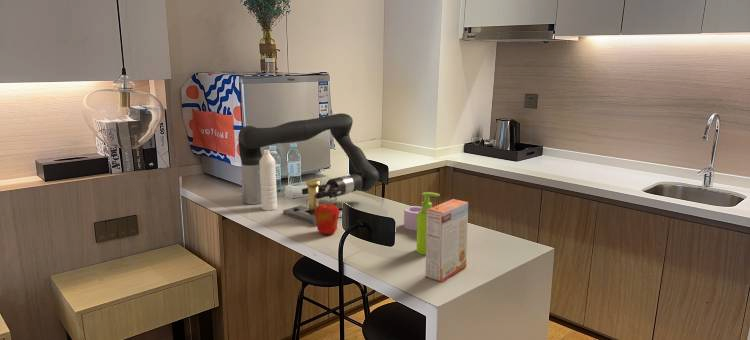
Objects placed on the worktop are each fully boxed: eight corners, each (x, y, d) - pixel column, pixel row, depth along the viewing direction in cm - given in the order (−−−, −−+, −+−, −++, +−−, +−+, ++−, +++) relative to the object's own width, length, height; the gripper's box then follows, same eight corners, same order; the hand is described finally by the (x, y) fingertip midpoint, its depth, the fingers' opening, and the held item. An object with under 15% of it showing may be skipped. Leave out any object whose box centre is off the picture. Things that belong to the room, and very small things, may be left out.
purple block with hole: (397, 229, 187) (397, 211, 186) (415, 220, 197) (416, 203, 195) (445, 241, 176) (446, 222, 174) (461, 231, 185) (462, 213, 184)
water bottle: (258, 208, 212) (255, 150, 206) (270, 205, 216) (267, 147, 211) (272, 212, 206) (269, 152, 201) (284, 208, 211) (281, 150, 206)
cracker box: (450, 262, 157) (452, 197, 153) (466, 267, 153) (469, 201, 149) (423, 276, 147) (425, 208, 142) (441, 283, 143) (443, 212, 138)
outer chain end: (297, 218, 199) (296, 209, 198) (314, 213, 205) (314, 204, 204) (318, 226, 190) (318, 217, 189) (336, 220, 197) (336, 211, 196)
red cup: (310, 234, 181) (310, 203, 179) (323, 227, 189) (323, 197, 186) (331, 238, 177) (330, 206, 175) (343, 231, 185) (343, 200, 182)
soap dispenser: (436, 255, 163) (438, 195, 158) (415, 253, 164) (416, 194, 159) (438, 248, 168) (440, 191, 164) (417, 247, 169) (418, 189, 165)
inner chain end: (283, 213, 205) (283, 208, 204) (300, 208, 211) (300, 204, 211) (313, 224, 192) (313, 219, 192) (331, 218, 199) (330, 213, 198)
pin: (304, 218, 199) (302, 181, 195) (315, 215, 203) (314, 178, 199) (313, 221, 195) (312, 183, 192) (324, 218, 199) (323, 181, 196)
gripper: (328, 174, 210) (297, 181, 199) (352, 180, 201) (321, 187, 189) (329, 191, 212) (298, 199, 201) (352, 198, 203) (321, 207, 191)
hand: (309, 193), depth 195 cm, fingers open, 8 cm apart
